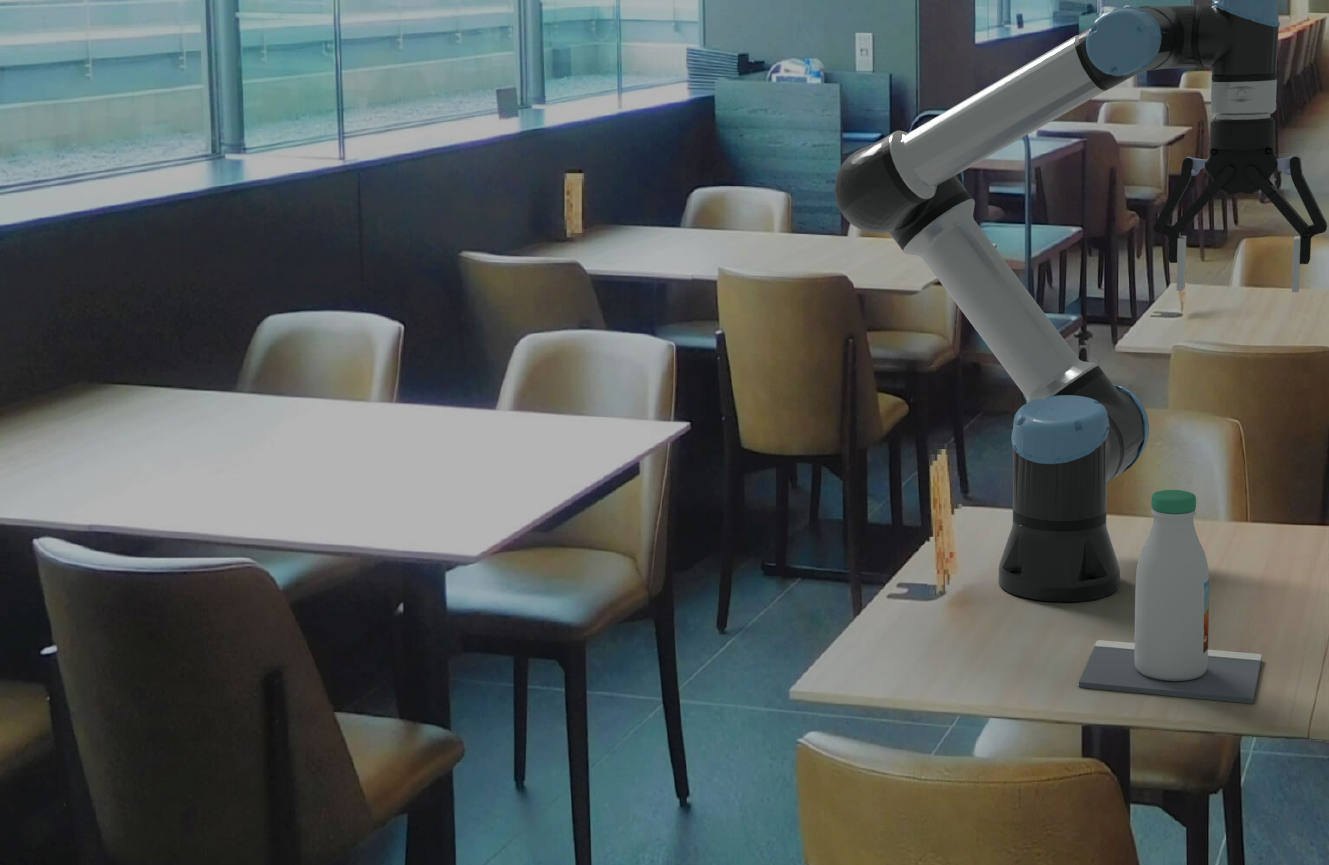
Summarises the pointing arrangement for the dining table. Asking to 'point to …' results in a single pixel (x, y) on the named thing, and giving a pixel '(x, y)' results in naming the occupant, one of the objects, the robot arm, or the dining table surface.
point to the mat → (1221, 681)
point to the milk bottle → (1172, 593)
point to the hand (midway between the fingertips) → (1237, 290)
